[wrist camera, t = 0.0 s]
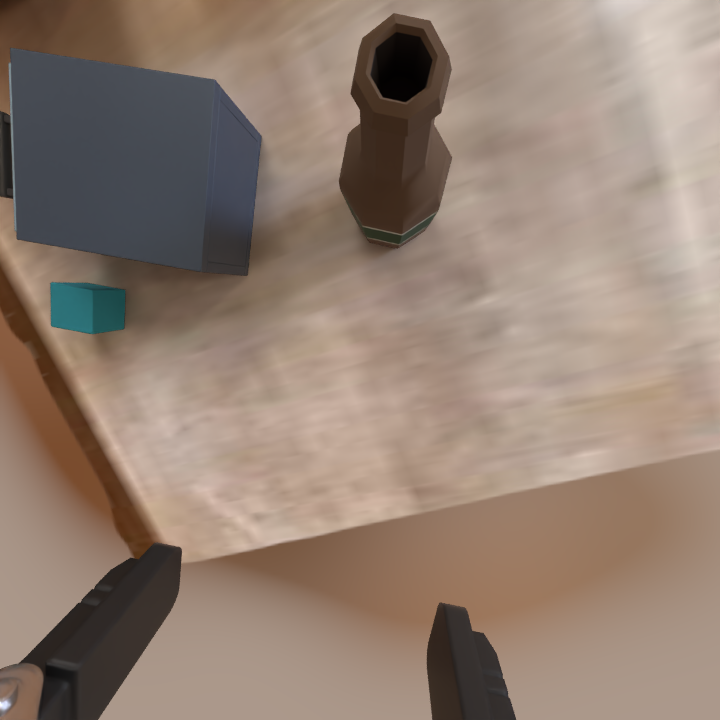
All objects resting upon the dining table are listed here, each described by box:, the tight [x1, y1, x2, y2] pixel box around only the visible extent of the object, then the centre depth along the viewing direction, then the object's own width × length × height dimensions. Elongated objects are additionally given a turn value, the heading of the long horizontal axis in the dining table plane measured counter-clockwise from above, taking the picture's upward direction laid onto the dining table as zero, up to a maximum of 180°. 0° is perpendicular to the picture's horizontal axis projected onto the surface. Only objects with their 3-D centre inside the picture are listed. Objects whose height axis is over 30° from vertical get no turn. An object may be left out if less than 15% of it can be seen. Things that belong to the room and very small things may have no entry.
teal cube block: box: [50, 282, 125, 334], centre depth 38 cm, size 4×4×4 cm
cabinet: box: [10, 48, 261, 276], centre depth 32 cm, size 16×14×10 cm
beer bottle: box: [339, 13, 452, 249], centre depth 24 cm, size 8×8×24 cm
